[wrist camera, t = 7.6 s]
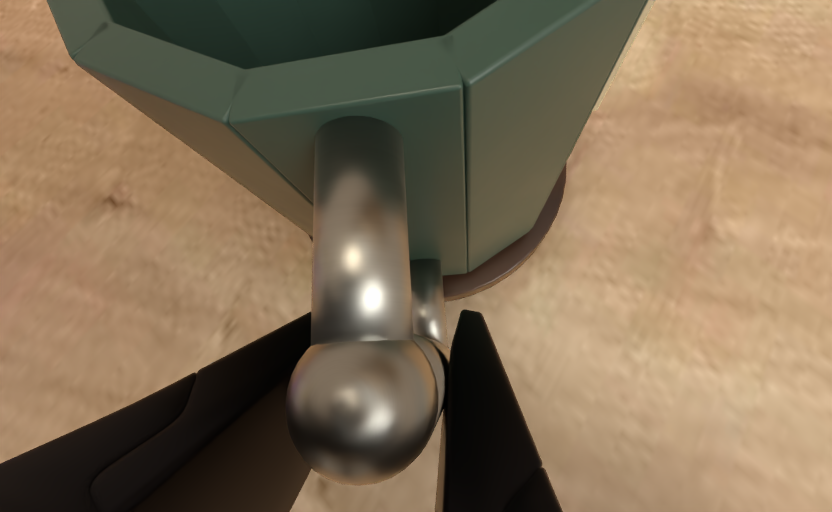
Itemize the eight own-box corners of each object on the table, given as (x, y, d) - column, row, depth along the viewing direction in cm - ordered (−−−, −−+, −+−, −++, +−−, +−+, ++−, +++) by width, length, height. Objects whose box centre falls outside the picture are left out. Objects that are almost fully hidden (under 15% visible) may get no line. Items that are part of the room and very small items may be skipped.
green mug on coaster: (309, 78, 18) (96, -287, 8) (536, 41, 17) (645, -463, 6) (301, 395, 14) (-171, 518, 4) (600, 381, 13) (1183, 511, 2)
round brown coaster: (619, 198, 16) (631, 186, 15) (389, 359, 15) (383, 359, 14) (457, 31, 19) (456, 11, 18) (267, 158, 19) (254, 146, 18)
